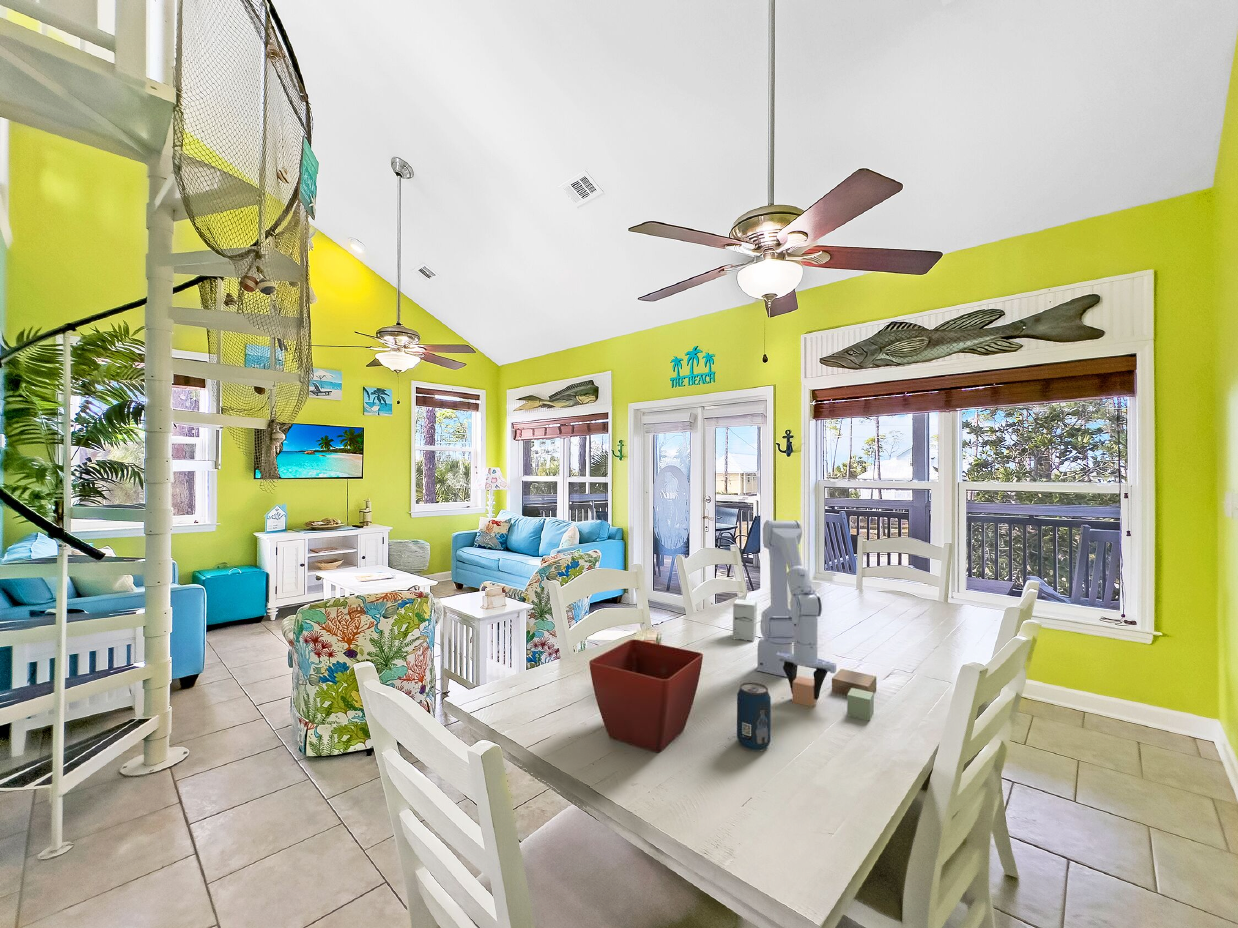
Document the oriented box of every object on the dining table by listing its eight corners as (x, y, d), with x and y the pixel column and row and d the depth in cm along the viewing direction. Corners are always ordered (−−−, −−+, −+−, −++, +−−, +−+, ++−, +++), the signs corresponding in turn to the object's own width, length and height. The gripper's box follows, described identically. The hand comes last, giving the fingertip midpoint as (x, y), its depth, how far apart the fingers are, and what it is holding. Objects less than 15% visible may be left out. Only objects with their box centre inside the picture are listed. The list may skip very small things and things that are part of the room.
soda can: (745, 733, 120) (746, 678, 120) (775, 743, 116) (776, 686, 116) (730, 745, 115) (731, 688, 115) (761, 756, 110) (762, 697, 111)
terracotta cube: (792, 702, 137) (792, 682, 137) (798, 695, 141) (798, 676, 141) (812, 707, 134) (812, 686, 134) (817, 700, 138) (818, 680, 138)
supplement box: (732, 639, 188) (732, 602, 189) (735, 633, 195) (736, 598, 195) (753, 642, 186) (754, 605, 186) (756, 636, 192) (757, 600, 193)
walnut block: (831, 693, 143) (831, 678, 144) (841, 683, 151) (841, 668, 151) (868, 702, 138) (868, 686, 138) (876, 691, 145) (876, 676, 145)
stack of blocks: (641, 661, 166) (641, 620, 166) (661, 662, 165) (662, 622, 165) (630, 688, 145) (630, 642, 145) (653, 690, 144) (654, 643, 144)
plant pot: (665, 766, 106) (666, 679, 107) (586, 740, 117) (586, 661, 117) (704, 728, 123) (704, 653, 123) (631, 707, 133) (632, 638, 133)
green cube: (847, 715, 130) (847, 694, 130) (851, 708, 134) (851, 687, 134) (870, 721, 127) (870, 699, 127) (873, 713, 131) (873, 692, 131)
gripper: (772, 640, 139) (771, 693, 138) (831, 651, 131) (831, 708, 130) (780, 633, 145) (780, 685, 144) (838, 643, 136) (838, 698, 136)
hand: (805, 695), depth 138 cm, fingers closed on terracotta cube, 5 cm apart
